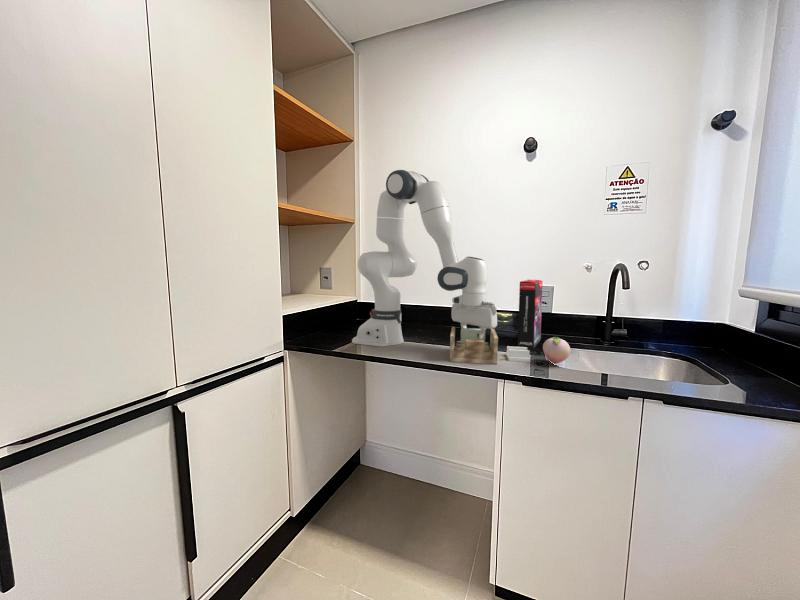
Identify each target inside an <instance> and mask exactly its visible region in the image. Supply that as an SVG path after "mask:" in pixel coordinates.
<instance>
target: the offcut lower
mask: <svg viewBox="0 0 800 600" xmlns="http://www.w3.org/2000/svg"><path fill="white" fill-rule="evenodd" d="M464 358H468V359H482V351H476V350H466V348H465V350H464Z"/></svg>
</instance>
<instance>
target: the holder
mask: <svg viewBox="0 0 800 600" xmlns="http://www.w3.org/2000/svg"><path fill="white" fill-rule="evenodd" d="M505 352H506V353H505V355H506V358H507V360H508V361H509V362H522V363H523V362H524V363H531V358H530V355H531V353H530V352H531V351H530V349H529V350H528V348H527V347H518V346H509V345H507V346H506V351H505Z"/></svg>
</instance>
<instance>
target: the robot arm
mask: <svg viewBox="0 0 800 600" xmlns="http://www.w3.org/2000/svg"><path fill="white" fill-rule="evenodd" d="M385 189H386V190H384V191H382V192H381V193H380V195H379V199H378V204H377V210H376V227H375V228H376V230H375V234H376V235H375V236H376V238H378V240H379V241H380V242H382V243H384V244H385V245H386V246H387V251H378V250H377V251H368V252H363V253H362V254H360V256H359V258H358V260H357V268H358V271H359V273H360V275H362V276H363V277H364V278H365V279H366V280H367V281H368V282H369V283H370V285H371V288H372V290H373V297H374V308H372V309H371V310H370V311H369V315H370V318H369V319H367V320H366V321H365V322H364V323H362V324H361V325H360V326H359V327H358V330H357V333H356V336H354V337H353V338H351V343H352V344H353V345H354V344H356V345H364V346H371V347H373V346H374V347H383V348H384V347H389V346H395V345H396V346H397V345H400V344H403V343H404V341H405V340H404V337H403V332H402V325H401V324H402V309H401V292H400V290H399V289H398V288H397V287H396V286H393V285H391V284H390V282H389V278H404V277H409V276H413V274H414V273H415V272H416V270H417V265H418V264H417V260H416V257H415V256H414V254H412V253H411V252H410V251H409V249H408V248H407V246H406V243H405V239H404V217H405V207H406V206H407V204H409V205H413V204H416V203H417V205H418V208H419V211H420V216H421V221H422V223H423V226H424V229H425V230H426V233H427V234H428V235H429V236H430V237H431V238H432V239H433V241H434V242H435V243H436V246H437V249H438V252H439V256H440V261H441V263H442V268H441V269H440V270H439V272H438V273H437V283H438V285H439V287H440V288H441V289H443V290H444V291H448V292H453V291H456V290H461V293H462V294H461V295H458V296H457V295H456V296H455V297H453V298H452V299H451V301H452V305H451V319H452V321H453V322H457V323H460V327H461V328H468V327H467V325H471V326H476V327H479V329H481V330H480V332H479V333H477V338H483V333H484V332H485V333H486V331H487V329H488V330H489V329H490V330H491V329H495V328H497V326H498V313H497V306H496V304H494V302H488V301H487V289H486V286H487V282H488V272H487V271H488V270H487V269H488V267H487V263H486V262H485V260H484V259H482V258H480V257H474V256H466V257H464V258H463V259H462V260H460V261H459V259H458V256H457V253H456V252H457V251H456V247H455V244H454V240H453V226H452V225H453V220H452V213H451V209H450V208H451V207H450V205H449V200H448V198H447V195H446V191H445V189H444V188H443V185H442V184H441V183H440V182H439V181H436V180H429V178H427V177H426V176H425V175H423V174H421V173H418V172H415V171H408V170H405V169H396V170H393V171H392V172H390V174H388V176H387V178H386V182H385Z"/></svg>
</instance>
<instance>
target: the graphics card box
mask: <svg viewBox="0 0 800 600" xmlns="http://www.w3.org/2000/svg"><path fill="white" fill-rule="evenodd" d="M518 300H519V301H518V331H517V347H527V349H535V348H536V346H537V345H538V344H539V342H540V341H541V338H542V335H541V333H542V308H543V307H542V306H543V280H540V279H527V280H525V279H524V280H522V281H519V298H518Z"/></svg>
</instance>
